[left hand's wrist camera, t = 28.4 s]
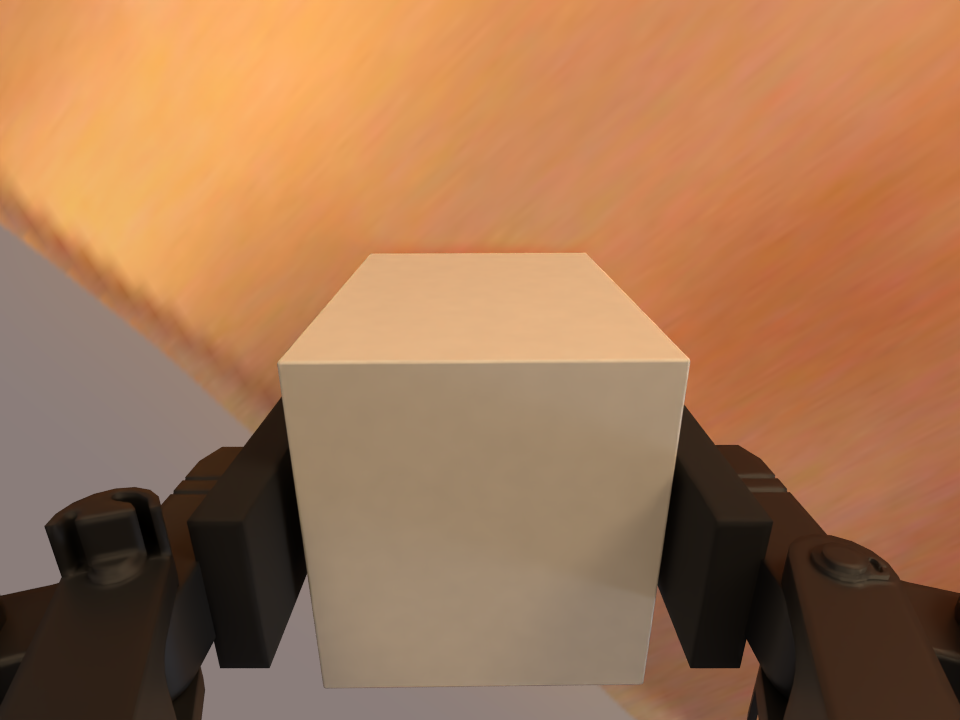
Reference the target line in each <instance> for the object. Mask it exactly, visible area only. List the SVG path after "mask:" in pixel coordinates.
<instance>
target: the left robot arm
mask: <svg viewBox="0 0 960 720" xmlns="http://www.w3.org/2000/svg"><path fill="white" fill-rule="evenodd" d="M185 478H186V479H185V480H183V481H182V482H181V483H180V484H179V485H178V486H177V487H176V489H175V490H174V493H173V494H171V495H170V496H169V497H168V498H167V499H166V500H165V501H164V502H163V504H162V505H161V504H160V500H159V496H157V495H156V494H155V493H153V492H152V491H151V490H148V489H142V488H137V487H130V488H117V489H112V490H108V491H104V492H100V493H96V494H93V495H90V496H88V497H86V498H83V499H81V500H79V501H76V502H74V503H72V504H70V505H69V506H67V507H66V508H64V509H63V510H61V511H60V512H58V513H56V514H55V515H54V516H53V517H52V519H51V520H50V521H49V522H48V523H47V524H46V525H45V529H46V532H47V535H48V538H49V541H50V544H51V547H52V550H53V553H54V556H55V559H56V562H57V565H58V567H59V570H60V573H61V576H62V578H61V580H60V582H59V583H57V584H53V585H49V586H45V587H40V588H35V589H30V590H26V591H21V592H16V593H12V594H7V595H2V596H0V720H201V719H202V710H203V702H204V694H205V687H204V680H203V675H202V671H201V664H202V662H203V661H204V659H205V657H206V655H207V653H208V651H209V649H210V647H211V645H212V644H213V642H214V643H215V648H216V652H217V656H218V661H219V665H220V668H270V666H271V663H272V660H273V658H274V656H275V653H276V651H277V648H278V645H279V643H280V640H281V638H282V635H283V633H284V630H285V628H286V625H287V623H288V620H289V618H290V615H291V613H292V610H293V607H294V605H295V603H296V600H297V598H298V595H299V592H300V590H301V588H302V585H303V582H304V580H305V577H306V575H307V568H306V561H305V554H304V547H303V540H302V533H301V526H300V519H299V512H298V505H297V498H296V491H295V484H294V477H293V470H292V463H291V456H290V449H289V442H288V435H287V428H286V421H285V414H284V407H283V400H282V397H281V399H280V400H279V401H278V403H277V404H276V405H275V406H274V408H273V409H272V410H271V412H270V413H269V414H268V416H267V417H266V418H265V420H264V421H263V422H262V423H261V425H260V426H259V427H258V429H257V430H256V431H255V433H254V434H253V435H252V437H251V438H250V439H249V440H248V442H247V443H246V445H245V446H244V447H221V448H220V449H218V450H216V451H215V452H213V453H212V454H210V455H208V456H207V457H205V458H204V459H202V460H200V461H199V462H198V463H197V464H196V466H195V467H194V468H193V469H192V470H191V471H190V473H189V474H188V475H187V476H186V477H185ZM658 588H659V590H660V593H661V595H662V598H663V600H664V603H665V605H666V608H667V610H668V613H669V615H670V618H671V620H672V623H673V625H674V628H675V630H676V633H677V635H678V638H679V640H680V643H681V646H682V648H683V651H684V653H685V656H686V658H687V661H688V663H689V666H690V668H740V665H741V661H742V656H743V652H744V648H745V643H746V639H747V641H748V643H749V644H750V646H751V648H752V650H753V652H754V654H755V656H756V658H757V659H758V661H759V663H760V666H759V670H758V675H757V679H756V683H755V687H754V691H753V695H752V699H751V703H750V707H749V711H748V717H747V720H756V719H757V715H758V717H759V720H960V593H956V592H951V591H947V590H942V589H937V588H933V587H928V586H923V585H918V584H914V583H909V582H905V581H902V580H900V579H899V577H898V575H897V574H896V573H895V571H894V570H893V569H892V568H891V566H890V565H889V564H888V563H887V562H886V561H885V560H883V559H882V558H881V557H879V556H878V555H877V554H875V553H874V552H873V551H871V550H869V549H867V548H865V547H863V546H861V545H859V544H856V543H854V542H852V541H849V540H846V539H842V538H839V537H835V536H832V535H827V534H826V533H825V532H824V531H823V530H822V528H821V527H820V526H819V525H818V524H817V523H816V522H815V520H814V519H813V518H812V517H811V516H810V515H809V514H808V512H807V511H806V510H805V509H804V508H803V507H802V506H801V504H800V503H799V502H798V501H797V500H796V499H795V498H794V496H793V495H792V494H791V493H790V492H787V488H786V487H785V486H784V485H783V484H782V483H781V482H780V480H779V479H778V478H775V475H774V474H773V472H772V471H771V470H770V469H769V468H768V467H767V466H766V464H765V463H764V462H763V461H762V460H761V459H760V458H758V457H757V456H755V455H754V454H752V453H750V452H749V451H747V450H745V449H744V448H742V447H740V446H739V445H715V444H714V443H713V442H712V440H711V439H710V438H709V437H708V435H707V434H706V433H705V431H704V430H703V429H702V427H701V426H700V425H699V423H698V422H697V421H696V420H695V418H694V417H693V416H692V414H691V413H690V412H689V410H688V409H687V408H686V406H685V405H684V407H683V414H682V421H681V428H680V434H679V441H678V448H677V455H676V462H675V469H674V475H673V482H672V489H671V496H670V503H669V510H668V516H667V523H666V530H665V537H664V544H663V551H662V557H661V564H660V571H659V578H658Z"/></svg>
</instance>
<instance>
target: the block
mask: <svg viewBox="0 0 960 720" xmlns="http://www.w3.org/2000/svg"><path fill="white" fill-rule="evenodd" d="M277 366H278V373H279V380H280V387H281V394H282V400H283V407H284V414H285V421H286V428H287V435H288V442H289V449H290V456H291V463H292V470H293V477H294V484H295V491H296V498H297V505H298V512H299V519H300V526H301V533H302V540H303V547H304V554H305V561H306V568H307V575H308V582H309V589H310V595H311V603H312V609H313V617H314V624H315V630H316V637H317V644H318V651H319V658H320V665H321V672H322V679H323V686H324V688H396V687H397V688H398V687H472V686H473V687H474V686H551V685H627V684H643V680H644V673H645V667H646V660H647V653H648V646H649V639H650V632H651V626H652V619H653V612H654V605H655V598H656V591H657V585H658V578H659V571H660V564H661V557H662V551H663V544H664V537H665V530H666V523H667V516H668V510H669V503H670V496H671V489H672V482H673V475H674V469H675V462H676V455H677V448H678V441H679V434H680V428H681V421H682V414H683V407H684V400H685V394H686V387H687V380H688V373H689V366H690V359H689V358H688V357H687V356H686V355H685V354H684V353H683V352H682V351H681V350H680V349H679V348H678V347H677V346H676V345H675V344H674V343H673V342H672V341H671V340H670V339H669V338H668V337H667V335H666V334H665V333H664V332H663V331H662V330H661V329H660V328H659V327H658V326H657V325H656V324H655V323H654V322H653V321H652V320H651V319H650V318H649V317H648V316H647V315H646V314H645V313H644V312H643V311H642V310H641V309H640V308H639V307H638V306H637V305H636V304H635V303H634V302H633V301H632V300H631V299H630V298H629V297H628V295H627V294H626V293H625V292H624V291H623V290H622V289H621V288H620V287H619V286H618V285H617V284H616V283H615V282H614V281H613V280H612V279H611V278H610V277H609V276H608V275H607V274H606V273H605V272H604V271H603V270H602V269H601V268H600V267H599V266H598V265H597V264H596V263H595V262H594V261H593V260H592V259H591V258H590V257H589V256H588V254H587V253H404V254H370V255H369V256H368V257H367V258H366V259H365V261H364V262H363V263H362V264H361V265H360V266H359V268H358V269H357V270H356V271H355V272H354V273H353V275H352V276H351V277H350V278H349V279H348V280H347V282H346V283H345V284H344V285H343V286H342V287H341V289H340V290H339V291H338V292H337V293H336V294H335V296H334V297H333V298H332V299H331V300H330V301H329V303H328V304H327V305H326V306H325V307H324V308H323V310H322V311H321V312H320V313H319V314H318V315H317V317H316V318H315V319H314V320H313V321H312V322H311V324H310V325H309V326H308V327H307V328H306V329H305V331H304V332H303V333H302V334H301V335H300V336H299V338H298V339H297V340H296V341H295V342H294V343H293V345H292V346H291V347H290V348H289V349H288V350H287V352H286V353H285V354H284V355H283V356H282V357H281V359H280V360H279V361H278V363H277Z"/></svg>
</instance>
